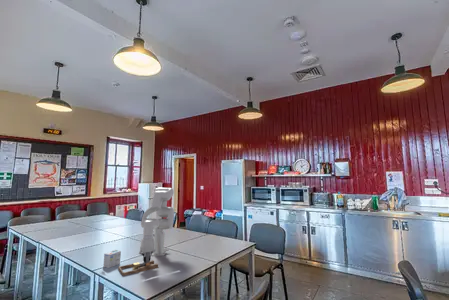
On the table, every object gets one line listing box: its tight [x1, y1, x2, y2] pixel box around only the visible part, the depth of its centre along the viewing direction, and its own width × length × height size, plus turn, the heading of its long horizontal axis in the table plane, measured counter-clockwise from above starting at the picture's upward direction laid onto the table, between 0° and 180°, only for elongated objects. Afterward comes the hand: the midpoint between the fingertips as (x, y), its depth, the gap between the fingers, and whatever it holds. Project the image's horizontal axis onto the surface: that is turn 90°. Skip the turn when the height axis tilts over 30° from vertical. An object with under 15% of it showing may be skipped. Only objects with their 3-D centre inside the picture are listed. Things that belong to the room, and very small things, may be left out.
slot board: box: [117, 259, 159, 277], centre depth 171 cm, size 26×14×3 cm, turn 127°
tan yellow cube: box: [132, 261, 140, 271], centre depth 170 cm, size 4×4×4 cm
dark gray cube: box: [138, 260, 145, 267], centre depth 172 cm, size 4×4×4 cm
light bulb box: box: [102, 249, 122, 269], centre depth 177 cm, size 11×7×11 cm, turn 157°
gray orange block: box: [145, 252, 150, 266], centre depth 175 cm, size 3×5×11 cm, turn 38°
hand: (146, 261), depth 175 cm, fingers closed on gray orange block, 2 cm apart
